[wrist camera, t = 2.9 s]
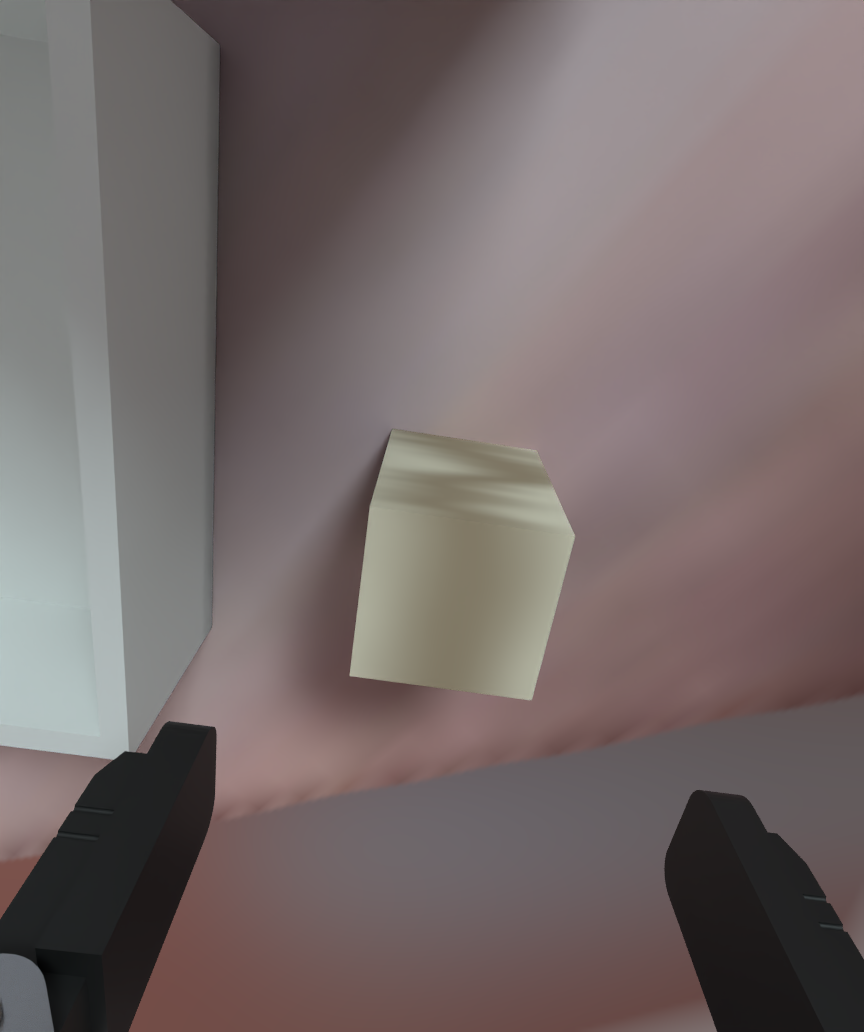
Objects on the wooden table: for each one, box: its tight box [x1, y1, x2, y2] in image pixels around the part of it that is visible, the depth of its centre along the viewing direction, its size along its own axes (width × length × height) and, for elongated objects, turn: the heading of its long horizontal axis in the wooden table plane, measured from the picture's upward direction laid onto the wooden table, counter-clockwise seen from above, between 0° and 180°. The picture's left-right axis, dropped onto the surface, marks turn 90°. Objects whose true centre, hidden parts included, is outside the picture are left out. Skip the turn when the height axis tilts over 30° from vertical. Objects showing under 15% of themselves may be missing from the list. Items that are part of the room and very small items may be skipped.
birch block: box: [350, 429, 575, 700], centre depth 19 cm, size 5×5×7 cm
